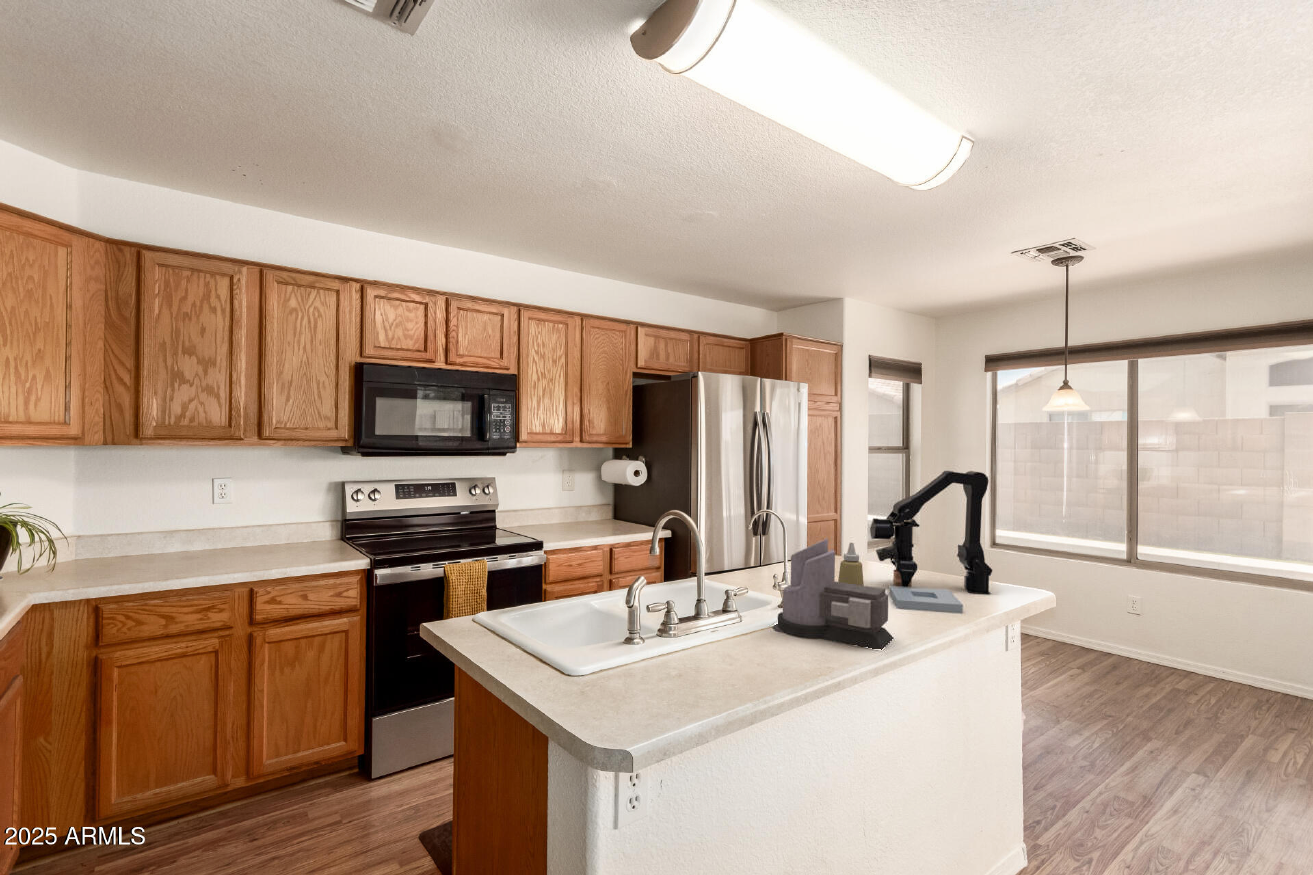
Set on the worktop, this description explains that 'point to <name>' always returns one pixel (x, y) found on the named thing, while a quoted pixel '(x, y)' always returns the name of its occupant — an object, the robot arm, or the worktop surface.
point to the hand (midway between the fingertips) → (902, 586)
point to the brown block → (899, 579)
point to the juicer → (831, 603)
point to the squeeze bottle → (851, 568)
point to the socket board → (925, 599)
